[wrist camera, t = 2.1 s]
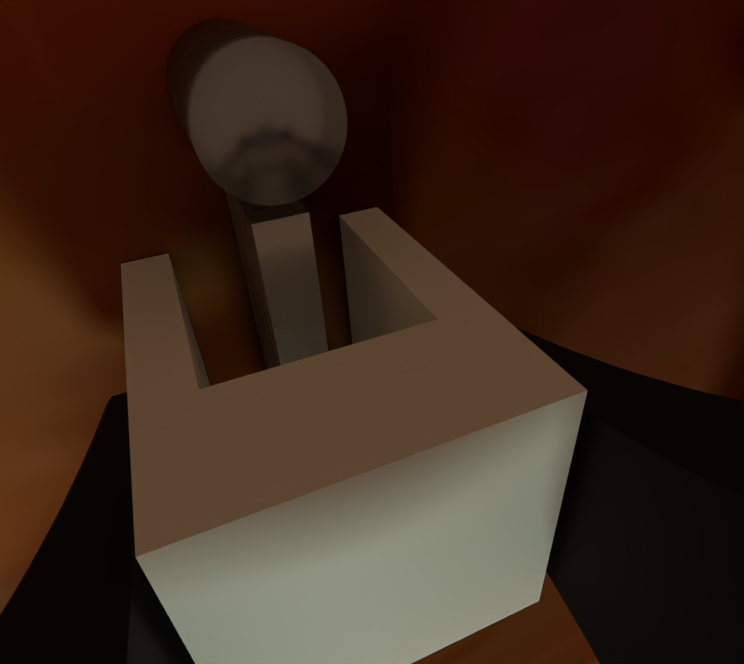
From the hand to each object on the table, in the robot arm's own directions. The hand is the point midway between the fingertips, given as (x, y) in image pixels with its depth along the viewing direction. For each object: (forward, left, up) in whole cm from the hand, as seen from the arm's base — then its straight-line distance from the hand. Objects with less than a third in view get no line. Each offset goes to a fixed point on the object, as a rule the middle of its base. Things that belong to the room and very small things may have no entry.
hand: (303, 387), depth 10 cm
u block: (0, 0, -2) cm, 2 cm away
